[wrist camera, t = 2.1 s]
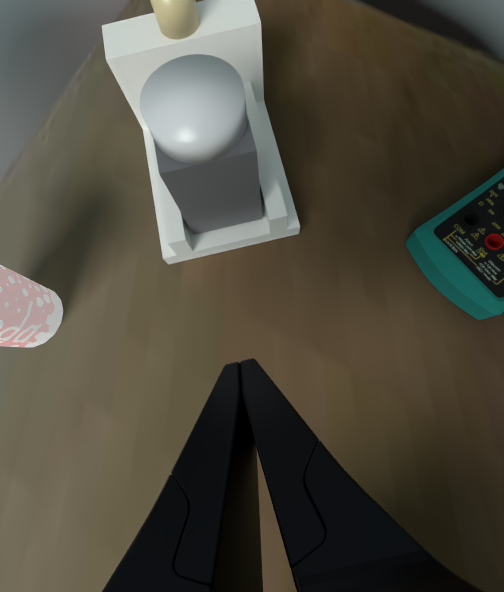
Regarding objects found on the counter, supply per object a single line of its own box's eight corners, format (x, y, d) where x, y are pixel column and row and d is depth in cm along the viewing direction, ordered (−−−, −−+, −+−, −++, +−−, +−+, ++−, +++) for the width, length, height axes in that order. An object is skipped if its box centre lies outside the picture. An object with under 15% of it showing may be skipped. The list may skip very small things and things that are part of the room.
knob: (262, 218, 23) (254, 126, 14) (193, 234, 23) (146, 151, 14) (247, 160, 24) (232, 43, 16) (182, 175, 24) (133, 67, 16)
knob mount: (298, 233, 24) (313, 144, 15) (168, 264, 24) (103, 194, 15) (256, 85, 27) (247, -60, 18) (144, 112, 28) (79, -19, 19)
